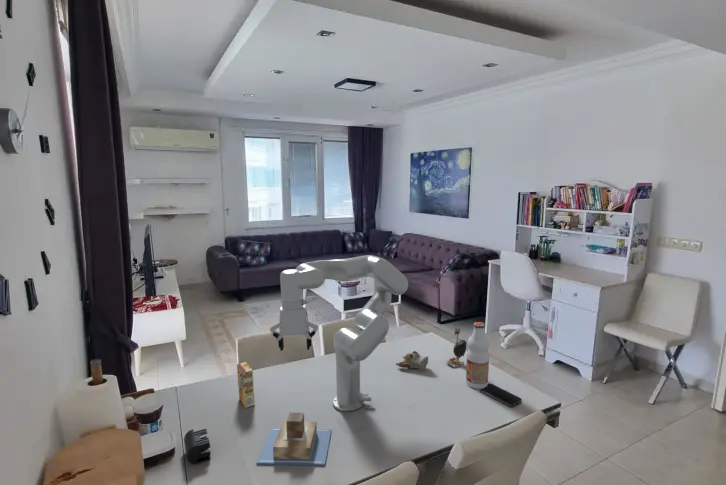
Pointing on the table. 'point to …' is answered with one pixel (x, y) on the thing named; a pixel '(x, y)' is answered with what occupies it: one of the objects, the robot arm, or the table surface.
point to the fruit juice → (477, 358)
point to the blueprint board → (316, 459)
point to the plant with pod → (458, 350)
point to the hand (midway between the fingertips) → (295, 348)
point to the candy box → (245, 384)
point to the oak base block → (295, 443)
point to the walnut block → (295, 425)
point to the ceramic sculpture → (414, 361)
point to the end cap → (197, 446)
